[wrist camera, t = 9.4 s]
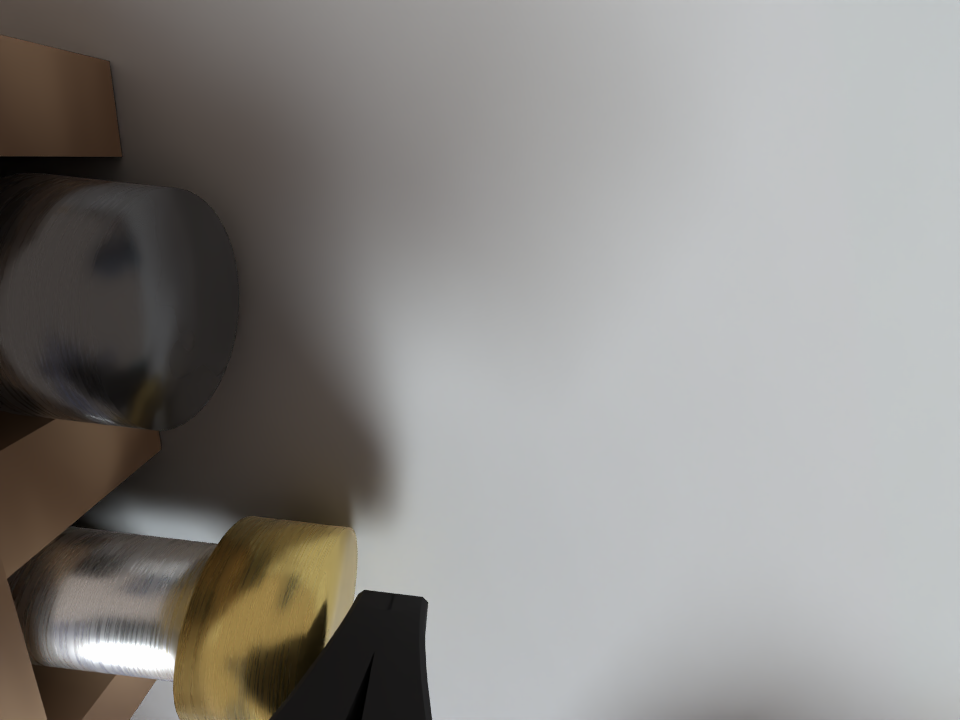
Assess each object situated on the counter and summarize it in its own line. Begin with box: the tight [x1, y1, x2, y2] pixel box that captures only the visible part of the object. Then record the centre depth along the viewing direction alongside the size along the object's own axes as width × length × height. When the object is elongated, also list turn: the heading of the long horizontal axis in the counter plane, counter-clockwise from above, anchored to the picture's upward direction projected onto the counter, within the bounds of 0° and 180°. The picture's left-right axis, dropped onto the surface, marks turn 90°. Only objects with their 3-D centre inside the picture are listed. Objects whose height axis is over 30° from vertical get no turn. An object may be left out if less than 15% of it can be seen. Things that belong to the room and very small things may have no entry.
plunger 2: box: [7, 516, 357, 720], centre depth 10 cm, size 4×10×4 cm, turn 84°
